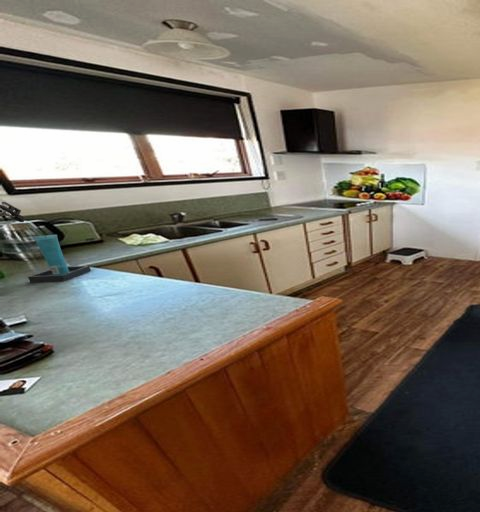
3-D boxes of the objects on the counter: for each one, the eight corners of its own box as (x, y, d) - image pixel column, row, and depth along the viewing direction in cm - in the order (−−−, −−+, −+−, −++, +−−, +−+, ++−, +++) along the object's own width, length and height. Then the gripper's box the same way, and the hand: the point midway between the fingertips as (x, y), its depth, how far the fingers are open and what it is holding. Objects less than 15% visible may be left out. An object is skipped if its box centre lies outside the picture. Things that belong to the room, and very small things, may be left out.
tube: (74, 271, 132) (58, 233, 126) (71, 274, 128) (54, 235, 122) (52, 275, 128) (34, 235, 122) (48, 278, 124) (29, 238, 118)
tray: (30, 282, 122) (27, 276, 121) (59, 271, 134) (57, 266, 133) (64, 280, 123) (62, 275, 122) (91, 270, 135) (89, 265, 134)
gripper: (-9, 186, 98) (35, 212, 112) (-62, 187, 94) (-10, 214, 109) (-18, 202, 94) (28, 227, 109) (-73, 204, 91) (-18, 230, 105)
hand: (9, 221), depth 109 cm, fingers open, 8 cm apart
